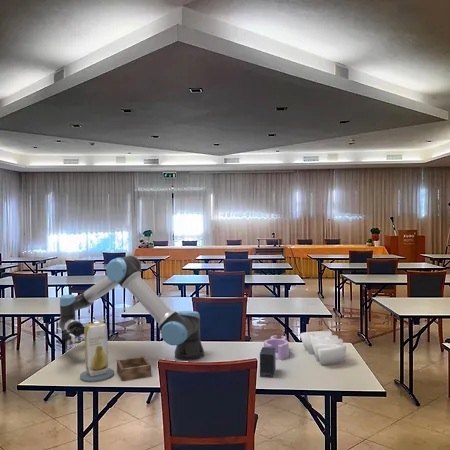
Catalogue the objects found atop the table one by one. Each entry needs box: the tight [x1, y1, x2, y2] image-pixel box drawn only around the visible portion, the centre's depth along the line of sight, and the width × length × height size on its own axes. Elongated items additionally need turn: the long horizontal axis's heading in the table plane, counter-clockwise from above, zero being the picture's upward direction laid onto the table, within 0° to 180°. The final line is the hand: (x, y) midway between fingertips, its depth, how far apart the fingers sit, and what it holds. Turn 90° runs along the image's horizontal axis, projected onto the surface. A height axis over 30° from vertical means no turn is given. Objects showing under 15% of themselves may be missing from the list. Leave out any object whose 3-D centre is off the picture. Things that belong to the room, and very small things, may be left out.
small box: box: [259, 346, 277, 378], centre depth 202 cm, size 11×6×10 cm, turn 168°
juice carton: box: [83, 321, 109, 377], centre depth 204 cm, size 9×8×24 cm
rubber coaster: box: [79, 367, 115, 383], centre depth 204 cm, size 15×15×1 cm
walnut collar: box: [116, 355, 152, 382], centre depth 206 cm, size 13×14×5 cm
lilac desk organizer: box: [263, 334, 290, 361], centre depth 229 cm, size 20×12×7 cm, turn 166°
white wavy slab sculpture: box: [299, 330, 347, 366], centre depth 223 cm, size 35×16×10 cm, turn 5°
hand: (88, 336), depth 211 cm, fingers open, 13 cm apart
